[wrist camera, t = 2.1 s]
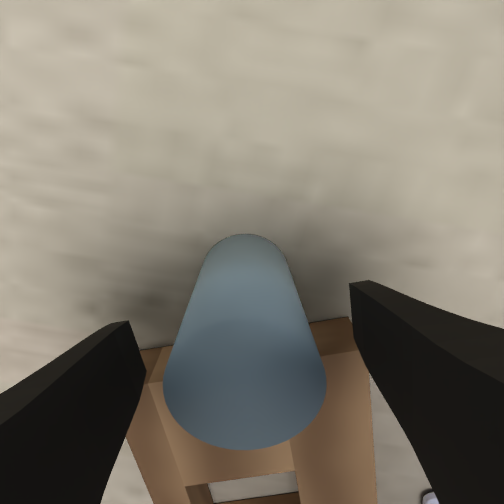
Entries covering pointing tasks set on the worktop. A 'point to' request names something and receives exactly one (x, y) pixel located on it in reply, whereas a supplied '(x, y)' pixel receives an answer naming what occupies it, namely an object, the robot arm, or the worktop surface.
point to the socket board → (271, 458)
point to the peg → (244, 351)
